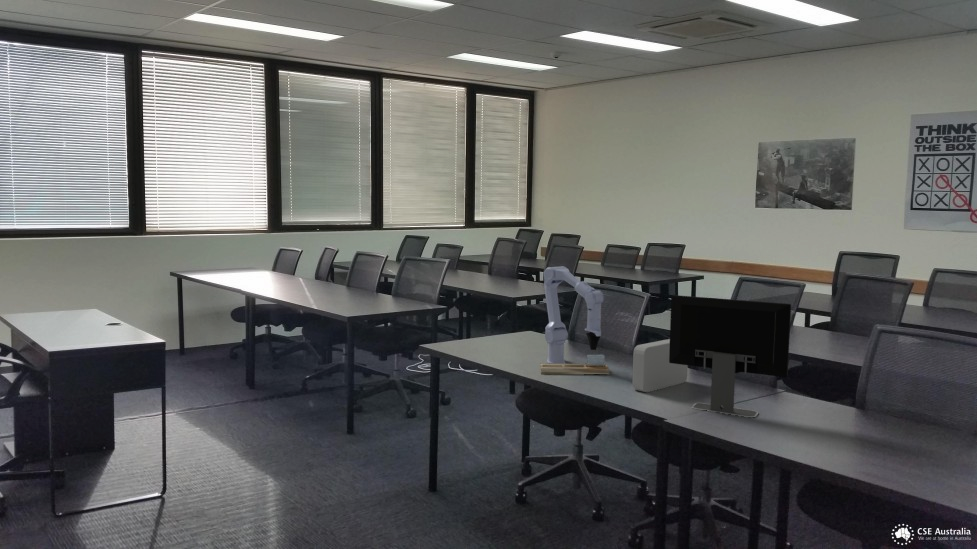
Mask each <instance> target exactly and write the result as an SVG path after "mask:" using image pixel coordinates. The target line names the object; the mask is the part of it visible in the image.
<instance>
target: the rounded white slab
mask: <svg viewBox="0 0 977 549" xmlns="http://www.w3.org/2000/svg"><path fill="white" fill-rule="evenodd" d="M669 350H670V338H668V339H667V338H666V339H663V340H658V341H653V342H652V341H651V342H648V343H647V342H646V343H643V344H641V343H640V344H637V345H636V346H635V347H634V349H633V356H632V360H633V361H632V388H633V390H635V391H639V392H644V393H650V391H651V392H654V390H655V391H657V389H658V390H662V389H665V388H670V387H673V386H676V385H681V383H682V384H684V383H685V382H686V381H687V379H688V370H689V369H688V366H689V365H681V364H673V363H669ZM669 386H670V387H669Z"/></svg>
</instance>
